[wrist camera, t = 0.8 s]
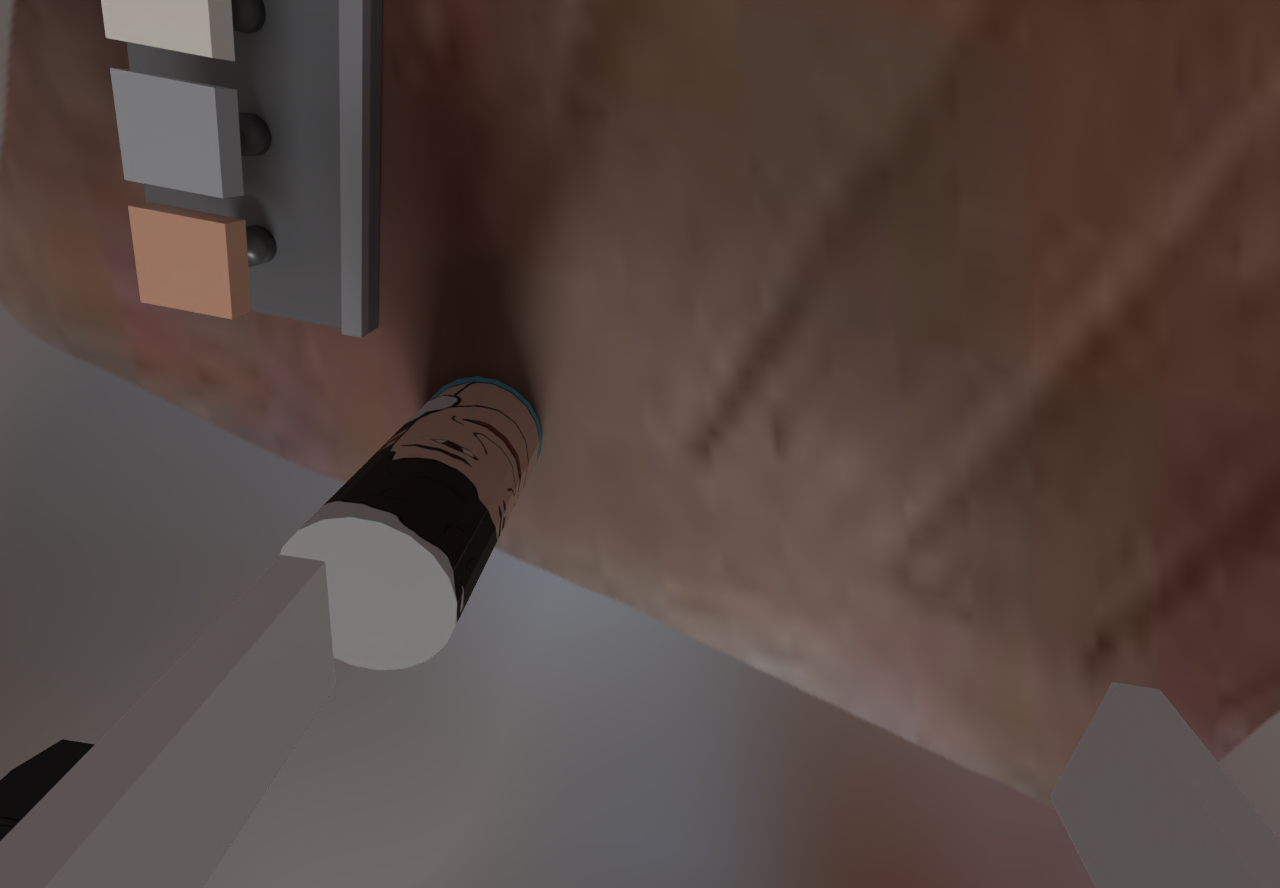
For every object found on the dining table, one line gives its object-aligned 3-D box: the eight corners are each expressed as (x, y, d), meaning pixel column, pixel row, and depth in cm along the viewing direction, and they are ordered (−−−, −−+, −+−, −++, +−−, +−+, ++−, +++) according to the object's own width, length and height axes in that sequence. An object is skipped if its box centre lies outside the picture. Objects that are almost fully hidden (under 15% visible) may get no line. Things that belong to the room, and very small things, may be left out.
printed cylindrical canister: (545, 489, 40) (465, 675, 26) (430, 484, 40) (294, 664, 27) (539, 378, 37) (447, 521, 24) (416, 374, 38) (256, 512, 24)
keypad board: (129, -105, 30) (82, -125, 27) (383, -57, 30) (357, -73, 27) (173, 288, 37) (138, 298, 34) (378, 327, 37) (356, 340, 34)
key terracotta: (152, 202, 30) (128, 205, 28) (245, 220, 30) (224, 224, 28) (163, 294, 31) (140, 301, 30) (251, 311, 31) (232, 319, 30)
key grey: (137, 70, 27) (109, 67, 26) (237, 89, 27) (214, 87, 26) (149, 177, 29) (124, 179, 28) (243, 195, 29) (222, 198, 28)
